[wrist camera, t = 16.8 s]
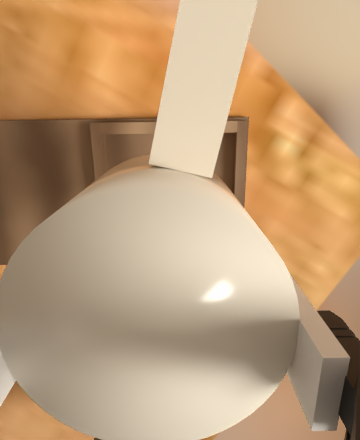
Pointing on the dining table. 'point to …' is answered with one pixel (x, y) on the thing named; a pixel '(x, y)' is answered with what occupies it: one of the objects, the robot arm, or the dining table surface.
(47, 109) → the dining table surface
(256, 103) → the dining table surface
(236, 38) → the white pot with handle
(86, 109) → the dining table surface
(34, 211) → the brown flat rectangular tray
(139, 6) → the dining table surface
